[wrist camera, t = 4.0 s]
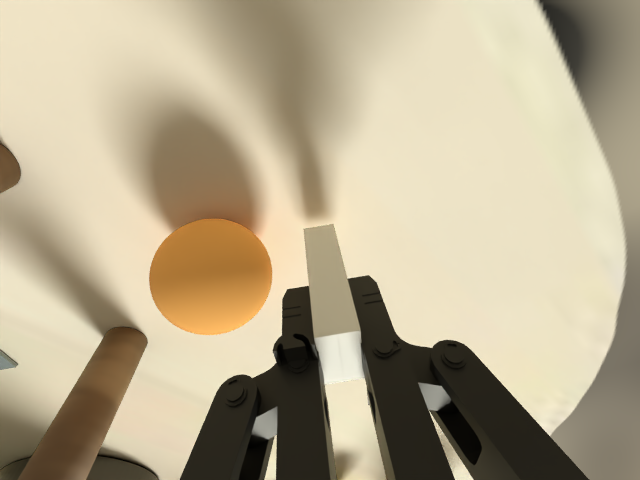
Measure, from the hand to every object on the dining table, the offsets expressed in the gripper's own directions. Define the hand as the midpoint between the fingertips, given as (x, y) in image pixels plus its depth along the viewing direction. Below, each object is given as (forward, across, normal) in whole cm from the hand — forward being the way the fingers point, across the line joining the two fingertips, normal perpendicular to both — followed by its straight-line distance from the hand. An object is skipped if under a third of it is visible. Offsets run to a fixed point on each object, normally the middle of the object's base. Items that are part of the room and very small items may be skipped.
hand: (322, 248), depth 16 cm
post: (+2, -14, -6) cm, 15 cm away
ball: (-1, -5, 0) cm, 5 cm away
